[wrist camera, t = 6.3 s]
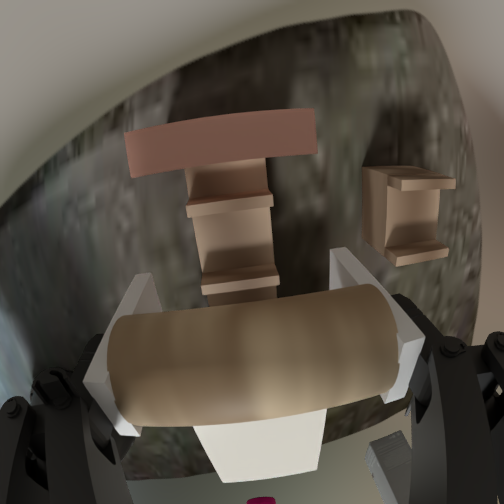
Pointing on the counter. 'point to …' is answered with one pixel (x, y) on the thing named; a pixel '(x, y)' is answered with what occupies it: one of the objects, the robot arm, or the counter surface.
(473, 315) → the counter surface
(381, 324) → the roller
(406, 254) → the pedestal
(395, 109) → the counter surface
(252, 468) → the slab
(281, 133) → the block
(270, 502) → the pepper mill
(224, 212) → the roller bed
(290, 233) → the counter surface
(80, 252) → the counter surface
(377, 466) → the skincare box
